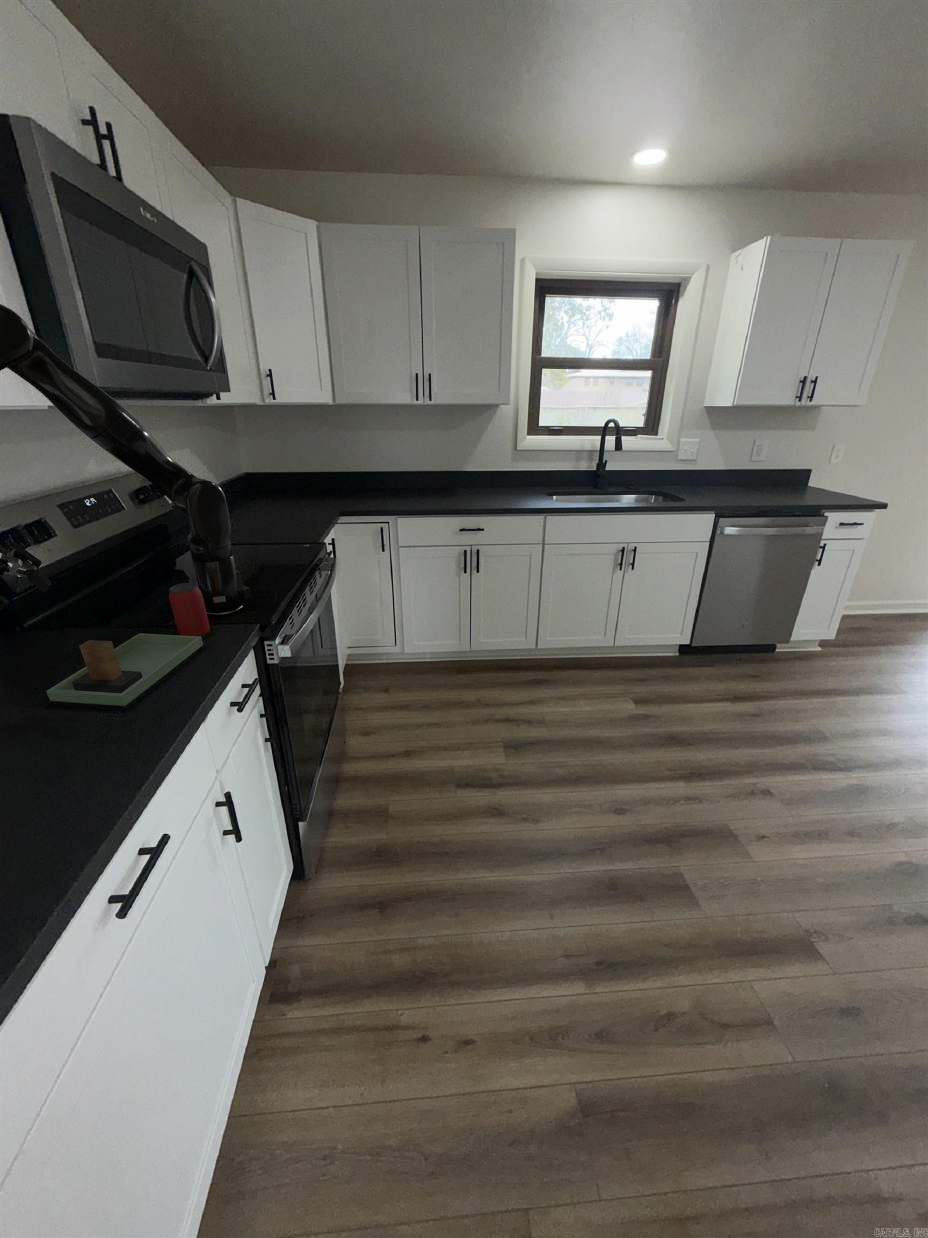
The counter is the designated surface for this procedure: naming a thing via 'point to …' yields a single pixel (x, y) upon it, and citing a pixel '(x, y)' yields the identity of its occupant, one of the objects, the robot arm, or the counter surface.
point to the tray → (133, 667)
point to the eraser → (103, 670)
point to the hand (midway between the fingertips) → (28, 597)
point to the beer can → (189, 610)
